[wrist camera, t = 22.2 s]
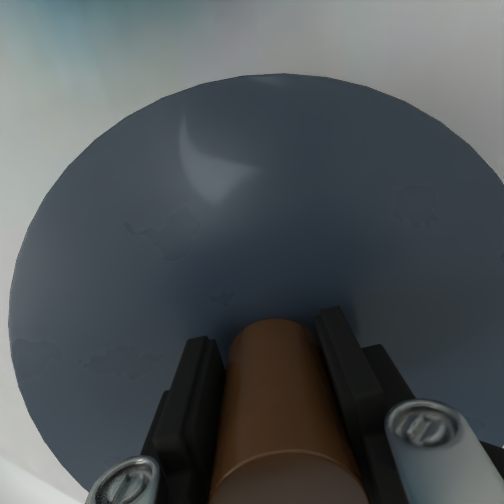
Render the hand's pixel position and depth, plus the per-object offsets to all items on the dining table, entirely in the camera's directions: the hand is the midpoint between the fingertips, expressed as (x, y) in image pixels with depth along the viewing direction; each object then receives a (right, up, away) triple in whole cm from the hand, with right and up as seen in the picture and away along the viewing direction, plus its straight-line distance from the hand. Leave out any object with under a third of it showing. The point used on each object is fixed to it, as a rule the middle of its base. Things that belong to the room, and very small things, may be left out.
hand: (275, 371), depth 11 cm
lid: (0, 0, +1) cm, 1 cm away
